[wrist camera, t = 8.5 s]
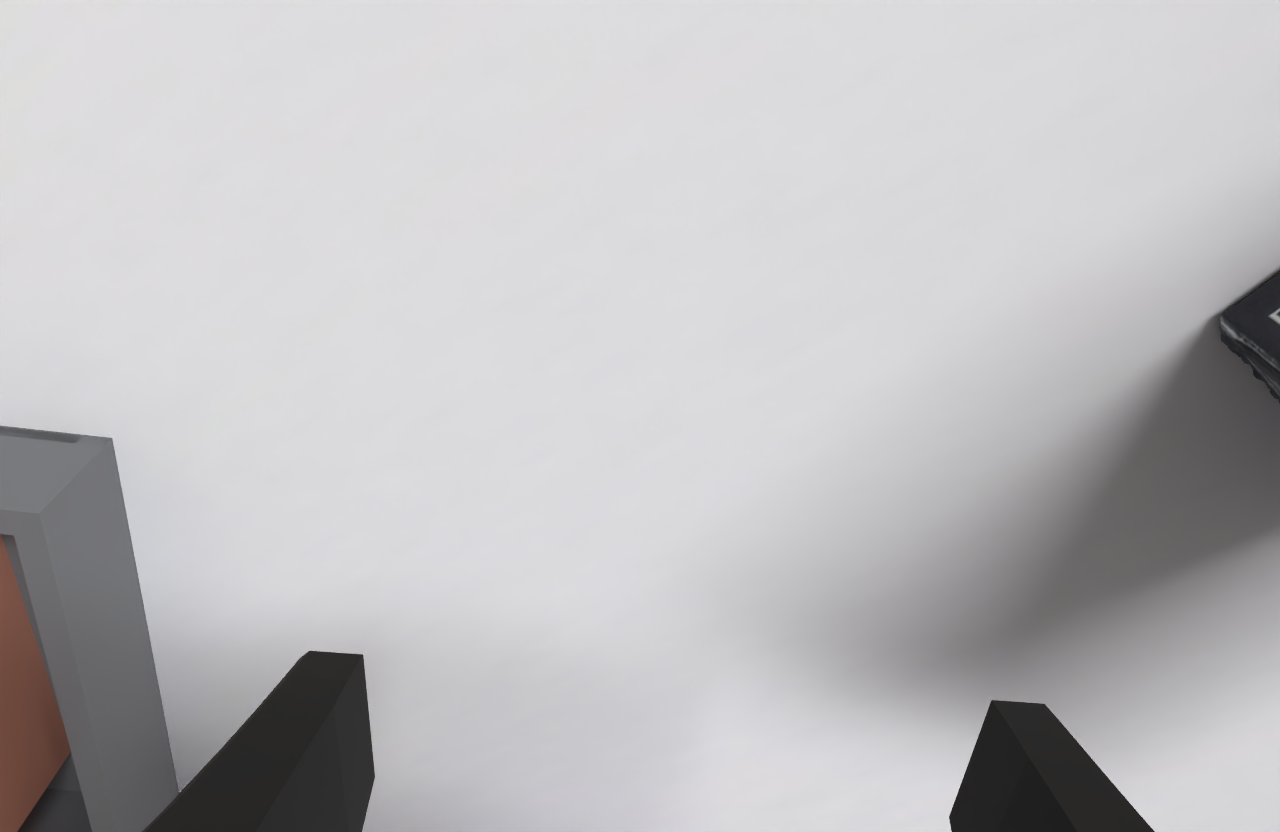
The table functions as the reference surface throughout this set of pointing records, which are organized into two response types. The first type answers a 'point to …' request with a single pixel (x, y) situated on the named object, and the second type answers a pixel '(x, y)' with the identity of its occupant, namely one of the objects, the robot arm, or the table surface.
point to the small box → (1257, 332)
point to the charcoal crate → (86, 630)
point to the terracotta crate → (24, 710)
